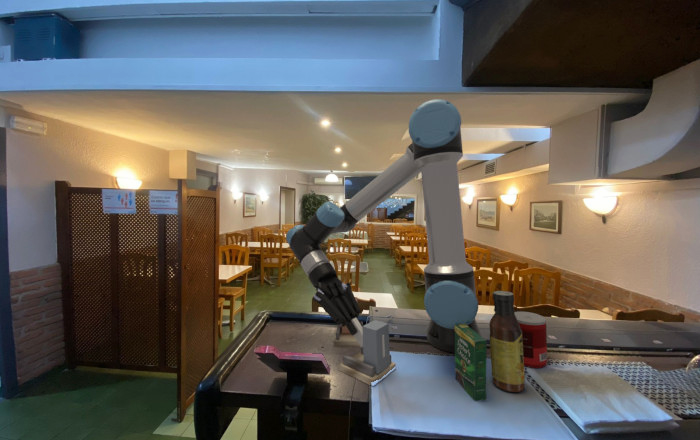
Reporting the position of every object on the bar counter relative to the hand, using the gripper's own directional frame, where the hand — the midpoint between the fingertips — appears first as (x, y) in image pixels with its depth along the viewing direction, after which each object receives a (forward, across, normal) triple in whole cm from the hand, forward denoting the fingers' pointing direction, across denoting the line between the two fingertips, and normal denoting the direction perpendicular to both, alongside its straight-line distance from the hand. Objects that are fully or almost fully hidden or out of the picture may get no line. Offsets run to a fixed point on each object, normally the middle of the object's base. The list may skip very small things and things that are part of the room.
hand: (366, 343), depth 67 cm
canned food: (+25, -29, +16) cm, 41 cm away
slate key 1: (+6, 0, -1) cm, 6 cm away
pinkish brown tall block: (-8, -11, -15) cm, 20 cm away
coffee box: (+20, -8, +10) cm, 24 cm away
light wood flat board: (-1, -5, -10) cm, 11 cm away
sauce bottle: (+24, -15, +15) cm, 32 cm away
